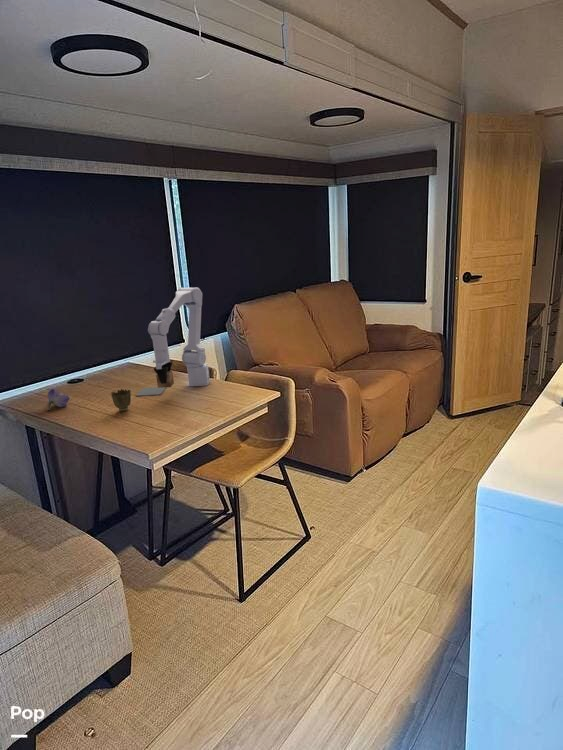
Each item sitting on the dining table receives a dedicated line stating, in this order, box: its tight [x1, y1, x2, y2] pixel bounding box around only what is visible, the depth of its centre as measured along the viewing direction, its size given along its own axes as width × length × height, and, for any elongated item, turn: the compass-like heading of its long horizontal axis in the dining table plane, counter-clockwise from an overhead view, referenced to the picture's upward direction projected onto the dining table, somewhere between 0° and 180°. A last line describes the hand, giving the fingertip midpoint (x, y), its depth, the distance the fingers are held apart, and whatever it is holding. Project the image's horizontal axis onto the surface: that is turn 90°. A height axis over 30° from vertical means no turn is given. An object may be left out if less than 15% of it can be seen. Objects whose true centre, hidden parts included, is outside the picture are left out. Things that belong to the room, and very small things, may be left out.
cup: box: [110, 388, 132, 413], centre depth 192 cm, size 8×7×8 cm
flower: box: [46, 387, 70, 411], centre depth 201 cm, size 9×9×10 cm
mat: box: [135, 386, 168, 397], centre depth 215 cm, size 11×11×1 cm
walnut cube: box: [155, 370, 175, 388], centre depth 202 cm, size 6×6×6 cm
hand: (165, 381), depth 202 cm, fingers closed on walnut cube, 5 cm apart
